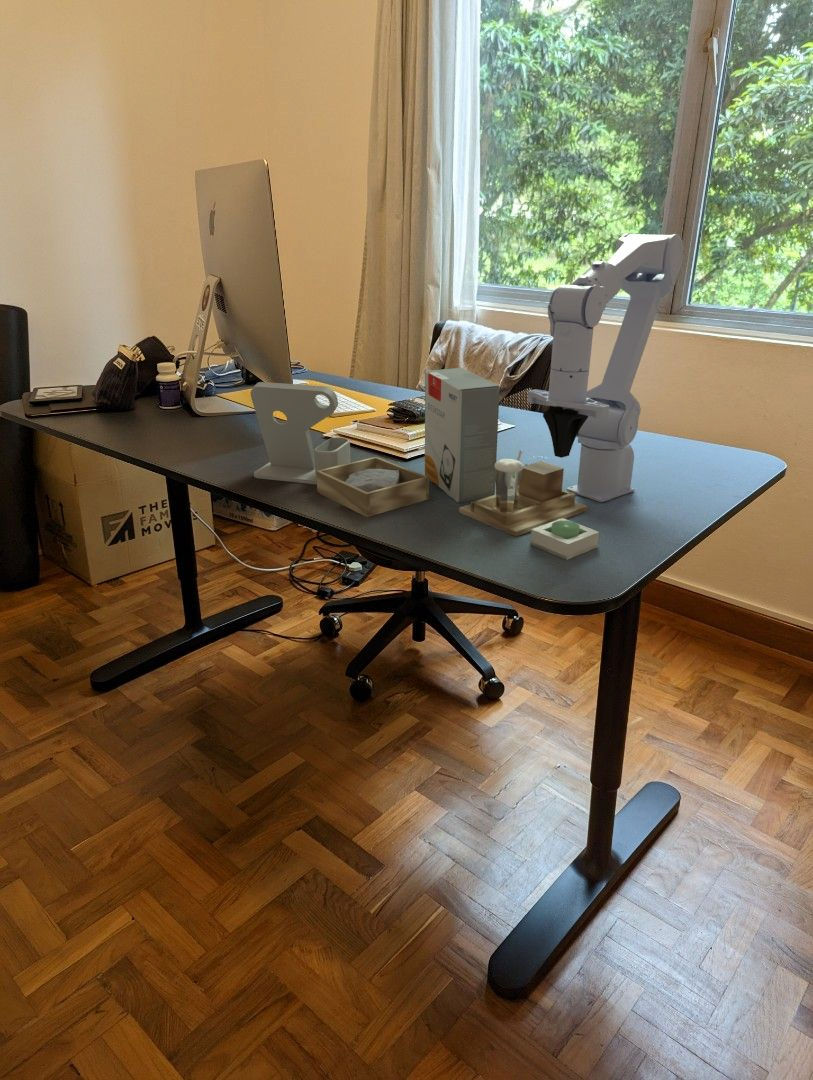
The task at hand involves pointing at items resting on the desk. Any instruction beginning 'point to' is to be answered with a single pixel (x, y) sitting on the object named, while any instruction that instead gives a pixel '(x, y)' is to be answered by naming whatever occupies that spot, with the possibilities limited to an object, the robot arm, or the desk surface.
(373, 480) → the stone block
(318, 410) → the phone holder
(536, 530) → the cream square tray
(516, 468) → the milkshake
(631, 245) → the robot arm
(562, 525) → the button
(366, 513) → the wooden tray
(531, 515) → the pallet
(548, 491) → the walnut block
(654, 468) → the desk surface
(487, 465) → the hard drive box
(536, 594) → the desk surface
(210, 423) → the desk surface
